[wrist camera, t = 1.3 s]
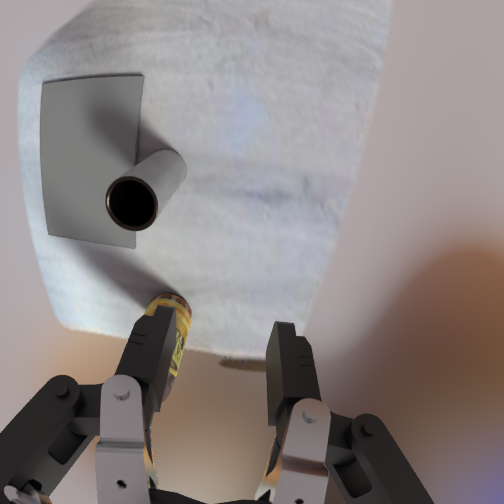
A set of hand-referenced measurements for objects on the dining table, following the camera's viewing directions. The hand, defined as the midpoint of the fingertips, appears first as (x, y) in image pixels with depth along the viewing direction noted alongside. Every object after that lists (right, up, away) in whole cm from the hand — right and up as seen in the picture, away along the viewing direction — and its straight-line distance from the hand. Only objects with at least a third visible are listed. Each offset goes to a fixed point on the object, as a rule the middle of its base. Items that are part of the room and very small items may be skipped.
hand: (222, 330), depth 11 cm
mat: (-18, +13, +17) cm, 28 cm away
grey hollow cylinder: (-8, +12, +18) cm, 23 cm away
